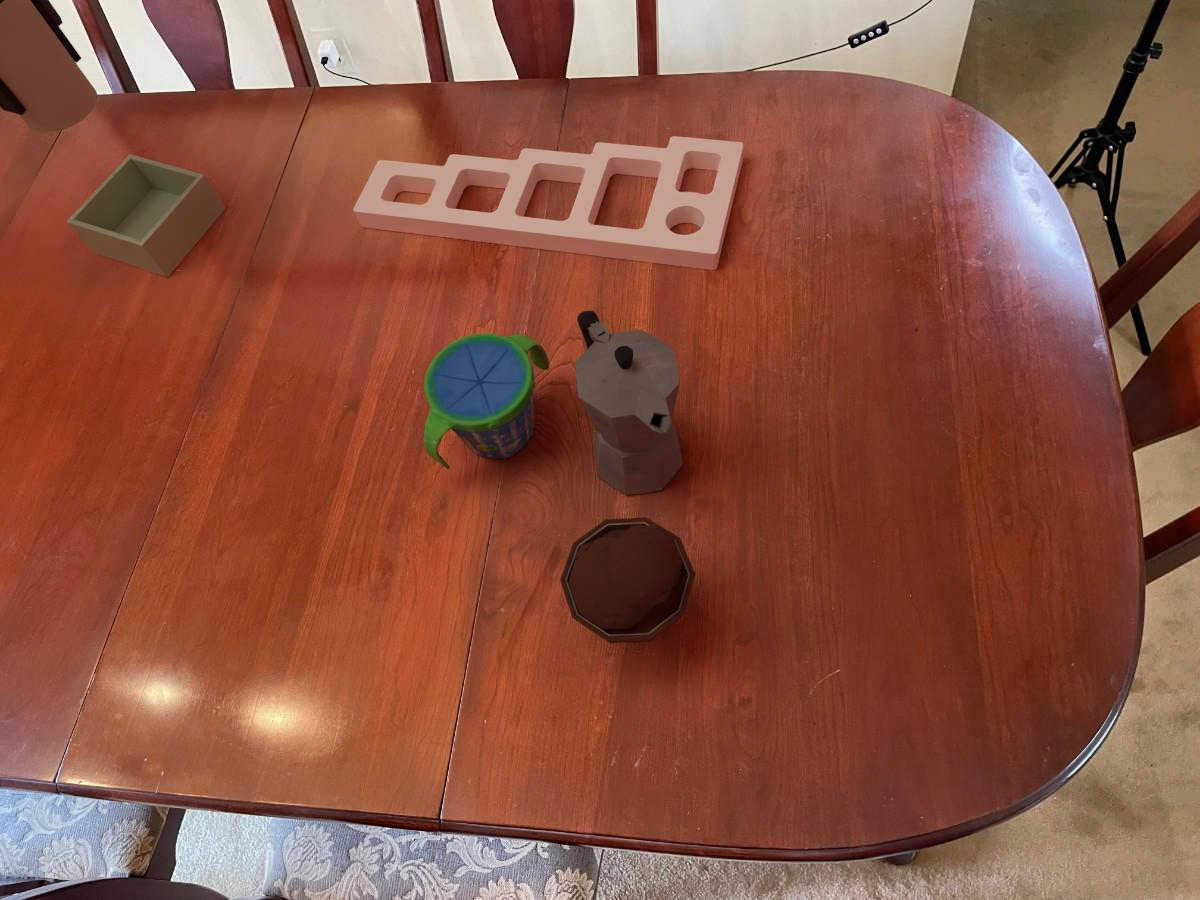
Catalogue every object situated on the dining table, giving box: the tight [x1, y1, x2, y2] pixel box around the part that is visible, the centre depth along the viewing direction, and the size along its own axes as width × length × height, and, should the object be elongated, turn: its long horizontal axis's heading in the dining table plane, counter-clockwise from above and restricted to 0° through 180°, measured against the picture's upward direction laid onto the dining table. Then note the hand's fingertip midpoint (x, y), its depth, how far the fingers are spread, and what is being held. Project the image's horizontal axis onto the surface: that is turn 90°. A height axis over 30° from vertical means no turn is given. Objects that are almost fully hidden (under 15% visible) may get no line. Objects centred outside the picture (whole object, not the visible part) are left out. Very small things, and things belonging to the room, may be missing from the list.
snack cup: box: [423, 332, 551, 470], centre depth 85 cm, size 16×10×10 cm
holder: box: [352, 135, 744, 271], centre depth 104 cm, size 45×18×3 cm, turn 76°
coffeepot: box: [574, 310, 684, 496], centre depth 79 cm, size 15×9×18 cm, turn 28°
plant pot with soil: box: [559, 517, 696, 644], centre depth 71 cm, size 11×11×15 cm
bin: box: [66, 153, 227, 278], centre depth 107 cm, size 12×12×6 cm
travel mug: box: [0, 0, 98, 133], centre depth 85 cm, size 8×8×18 cm
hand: (42, 83), depth 90 cm, fingers closed on travel mug, 8 cm apart
